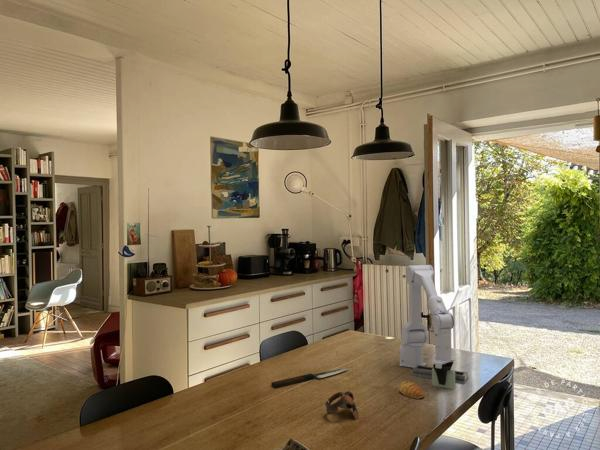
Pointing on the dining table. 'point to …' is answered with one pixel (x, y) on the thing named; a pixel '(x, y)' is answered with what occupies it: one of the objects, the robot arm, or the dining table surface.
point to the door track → (427, 373)
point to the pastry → (411, 390)
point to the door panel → (449, 380)
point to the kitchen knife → (304, 378)
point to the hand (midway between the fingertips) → (443, 382)
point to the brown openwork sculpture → (342, 403)
